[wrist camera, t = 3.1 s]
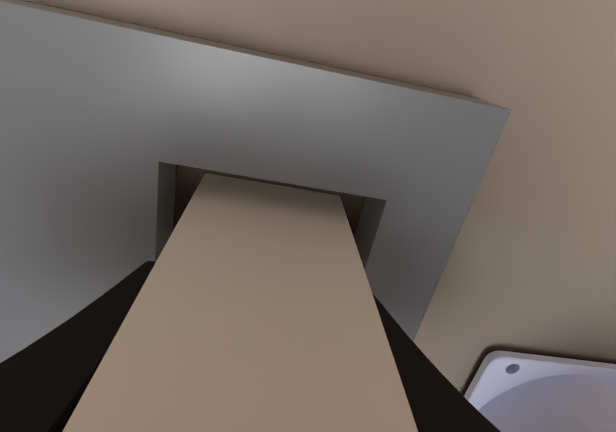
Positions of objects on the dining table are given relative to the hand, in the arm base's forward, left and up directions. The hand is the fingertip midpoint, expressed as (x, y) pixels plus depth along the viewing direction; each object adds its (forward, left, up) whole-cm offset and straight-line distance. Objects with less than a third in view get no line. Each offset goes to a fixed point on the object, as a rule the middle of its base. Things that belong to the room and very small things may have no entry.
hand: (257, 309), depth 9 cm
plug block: (0, 0, -3) cm, 3 cm away
